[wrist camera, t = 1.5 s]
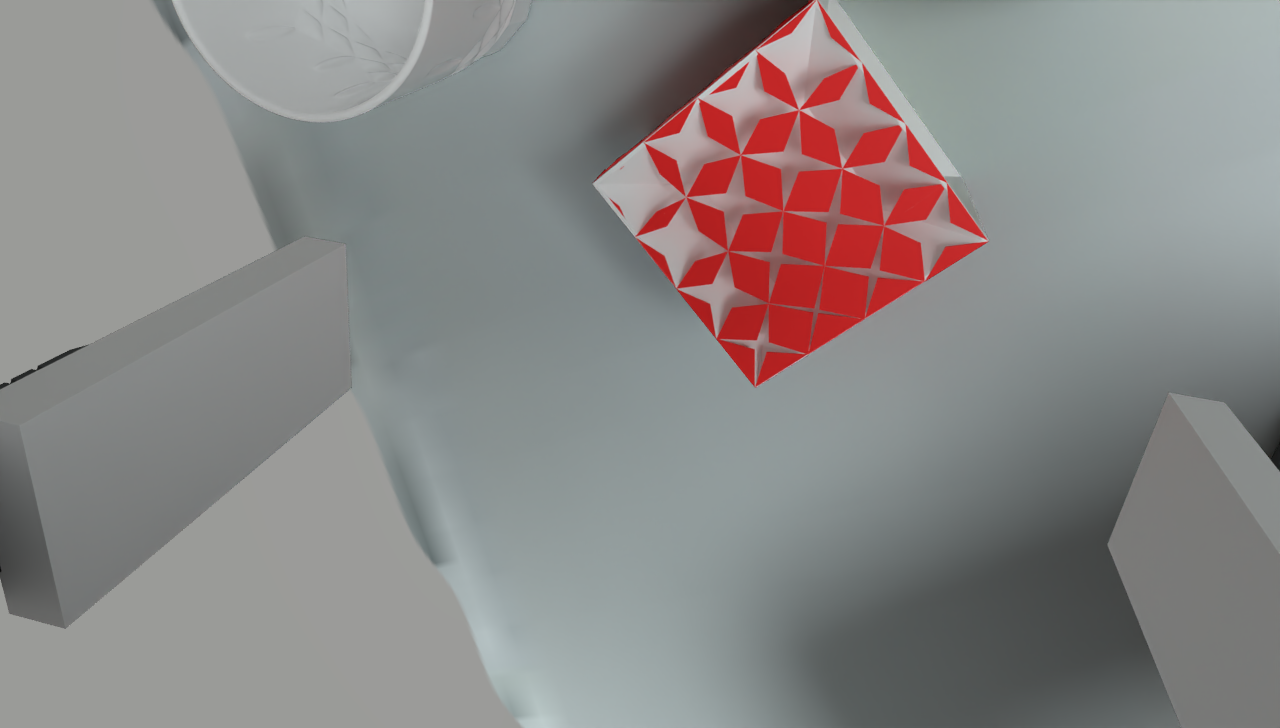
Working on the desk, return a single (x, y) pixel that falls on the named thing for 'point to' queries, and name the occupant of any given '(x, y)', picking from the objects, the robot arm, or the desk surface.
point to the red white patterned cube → (794, 194)
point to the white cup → (343, 48)
